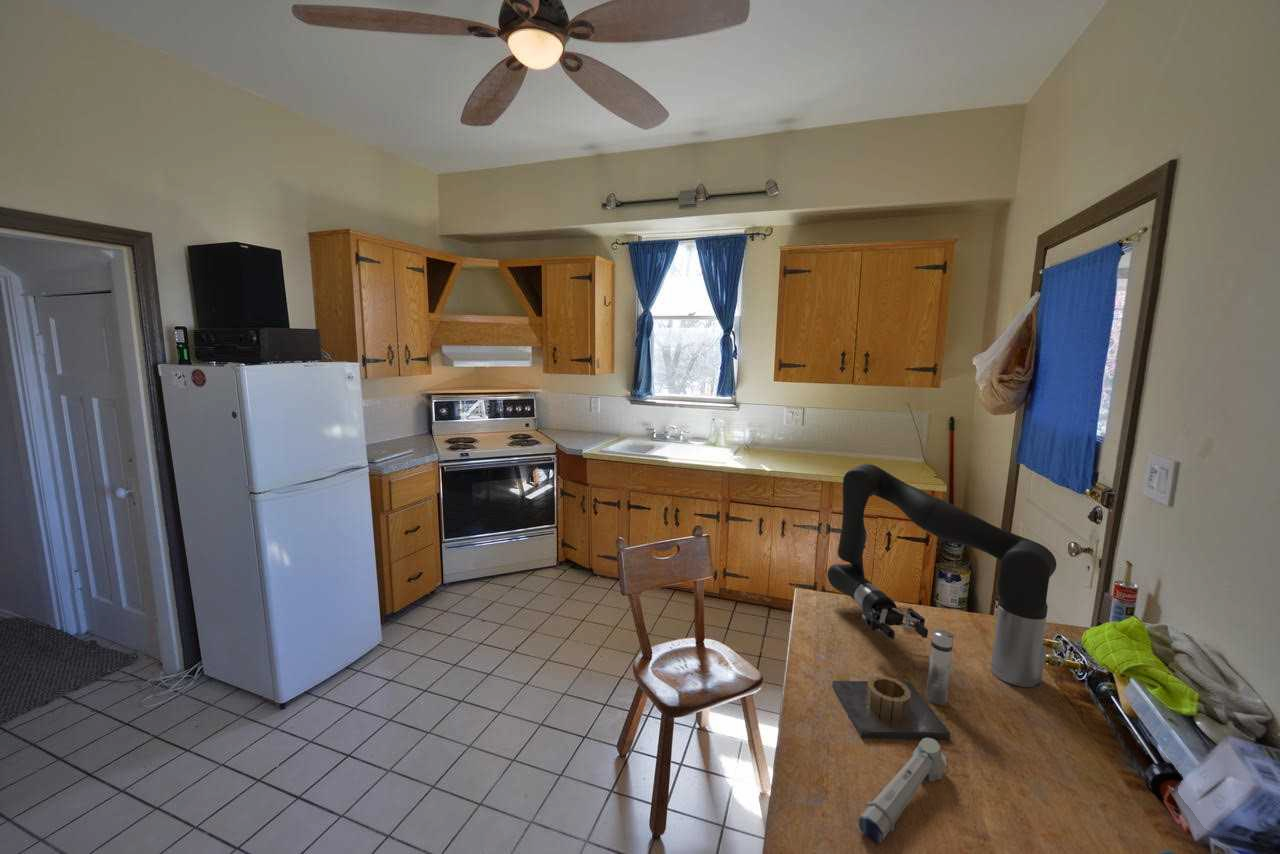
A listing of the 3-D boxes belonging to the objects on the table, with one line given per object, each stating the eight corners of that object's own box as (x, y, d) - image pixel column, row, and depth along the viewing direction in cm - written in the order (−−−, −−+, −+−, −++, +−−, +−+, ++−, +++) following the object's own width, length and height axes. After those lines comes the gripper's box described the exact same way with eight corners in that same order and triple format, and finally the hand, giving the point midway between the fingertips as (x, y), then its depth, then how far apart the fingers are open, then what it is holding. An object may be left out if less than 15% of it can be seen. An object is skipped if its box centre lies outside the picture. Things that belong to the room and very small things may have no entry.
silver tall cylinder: (939, 693, 118) (946, 629, 115) (950, 705, 114) (957, 639, 111) (921, 693, 118) (928, 628, 115) (931, 705, 114) (939, 639, 111)
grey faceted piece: (854, 808, 84) (922, 722, 98) (854, 840, 85) (921, 751, 100) (886, 832, 80) (952, 739, 94) (885, 865, 81) (950, 768, 96)
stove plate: (908, 687, 120) (911, 666, 119) (949, 739, 104) (952, 714, 103) (832, 686, 120) (833, 665, 119) (861, 738, 104) (863, 713, 103)
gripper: (850, 590, 140) (883, 621, 124) (900, 589, 141) (938, 620, 125) (848, 615, 141) (880, 650, 125) (897, 614, 142) (935, 648, 126)
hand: (909, 635), depth 125 cm, fingers open, 8 cm apart
